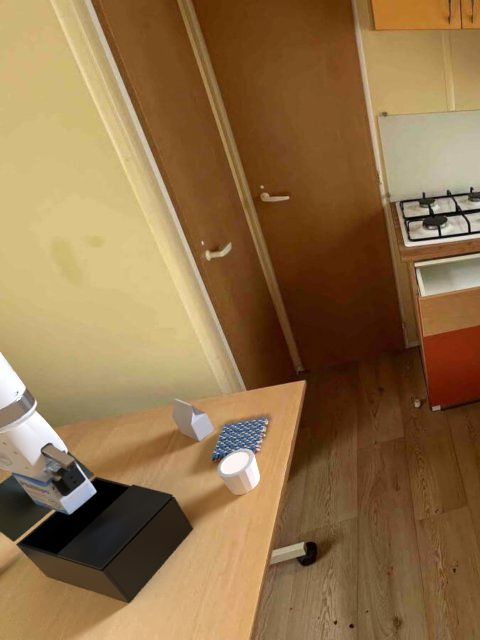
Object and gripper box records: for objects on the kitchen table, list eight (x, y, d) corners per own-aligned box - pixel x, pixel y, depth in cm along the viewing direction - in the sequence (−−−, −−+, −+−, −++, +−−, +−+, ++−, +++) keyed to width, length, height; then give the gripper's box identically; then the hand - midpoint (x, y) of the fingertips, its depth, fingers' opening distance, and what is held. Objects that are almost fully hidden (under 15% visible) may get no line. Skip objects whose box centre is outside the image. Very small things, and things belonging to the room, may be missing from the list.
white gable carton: (199, 441, 102) (185, 412, 97) (180, 433, 104) (165, 404, 100) (214, 429, 105) (200, 400, 100) (195, 421, 107) (181, 393, 103)
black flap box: (46, 576, 77) (13, 541, 71) (118, 508, 88) (94, 473, 82) (129, 603, 73) (100, 568, 68) (193, 528, 84) (172, 494, 79)
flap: (14, 541, 71) (13, 541, 72) (94, 474, 82) (93, 474, 82) (-32, 506, 68) (-33, 507, 68) (58, 441, 79) (57, 441, 79)
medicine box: (36, 505, 73) (8, 473, 69) (65, 481, 77) (41, 450, 73) (70, 516, 71) (44, 483, 67) (98, 491, 75) (75, 459, 71)
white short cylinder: (269, 477, 94) (260, 457, 91) (238, 503, 89) (228, 482, 85) (251, 463, 97) (242, 443, 94) (220, 488, 92) (210, 467, 88)
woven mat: (270, 419, 108) (268, 414, 107) (260, 455, 99) (257, 449, 98) (225, 428, 106) (222, 422, 105) (210, 465, 96) (207, 459, 95)
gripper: (-79, 419, 62) (-11, 492, 71) (9, 441, 59) (69, 515, 67) (-13, 383, 69) (42, 454, 77) (69, 401, 66) (117, 473, 74)
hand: (55, 482), depth 72 cm, fingers closed on medicine box, 8 cm apart
